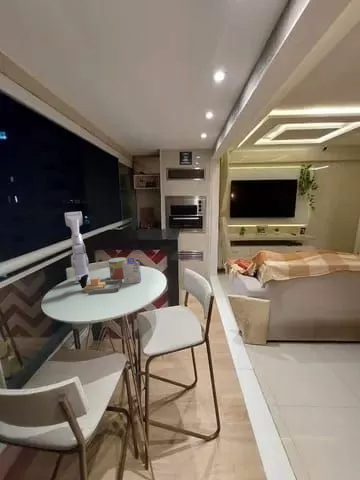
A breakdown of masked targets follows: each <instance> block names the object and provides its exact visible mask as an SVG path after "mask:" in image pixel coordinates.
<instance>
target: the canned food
mask: <svg viewBox="0 0 360 480" xmlns="http://www.w3.org/2000/svg"><path fill="white" fill-rule="evenodd" d="M124 262H128V260H127V258H126V257H125V256H123V257H114V258H110V259H108V266H109V267H108V268H109V276H110V277H109V278H110V279H109V280H119V279H122V281H124V275H123V266H122V265H123V263H124Z"/></svg>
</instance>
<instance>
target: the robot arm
mask: <svg viewBox="0 0 360 480" xmlns="http://www.w3.org/2000/svg"><path fill="white" fill-rule="evenodd" d="M82 213H83V212H82V211H81V210H80V211H69V212H64V221H65V225H66V227H69V228H70V230H71V243H72V246H71V248H72V255H70V261H71V268H72V269H74V275H75V281H74V283H73V284H79V285H80V287H81V289H84V288H85V286H86V285H87V284H88V283H89V281H90V279H91V278H92V276H91V277H90V271H89V268H88V266H89V258H88V255H87V253H86V246H85V243H84V240H83V234H81V233H80V227H81V226H83V214H82Z"/></svg>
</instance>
